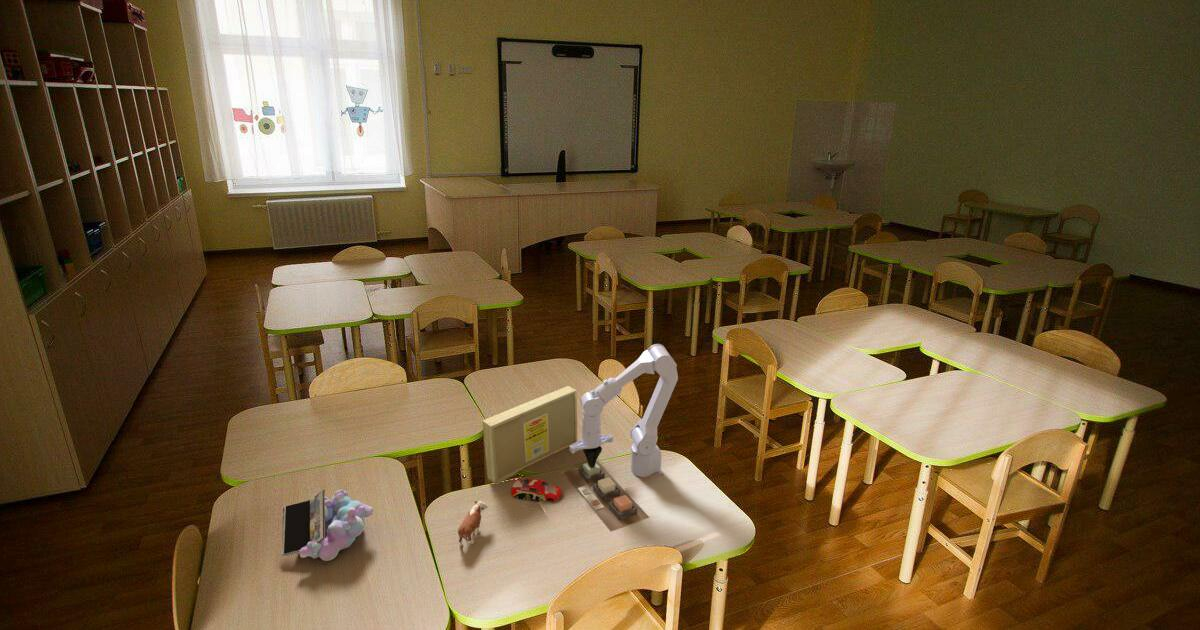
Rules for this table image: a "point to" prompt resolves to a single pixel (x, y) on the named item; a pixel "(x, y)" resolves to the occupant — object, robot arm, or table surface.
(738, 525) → the table surface
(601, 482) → the cream key
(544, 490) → the race car
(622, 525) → the keypad
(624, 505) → the terracotta key
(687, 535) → the table surface
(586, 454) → the robot arm
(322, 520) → the cloud picture frame
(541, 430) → the beige flat box
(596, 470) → the sage key
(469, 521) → the bull figurine
